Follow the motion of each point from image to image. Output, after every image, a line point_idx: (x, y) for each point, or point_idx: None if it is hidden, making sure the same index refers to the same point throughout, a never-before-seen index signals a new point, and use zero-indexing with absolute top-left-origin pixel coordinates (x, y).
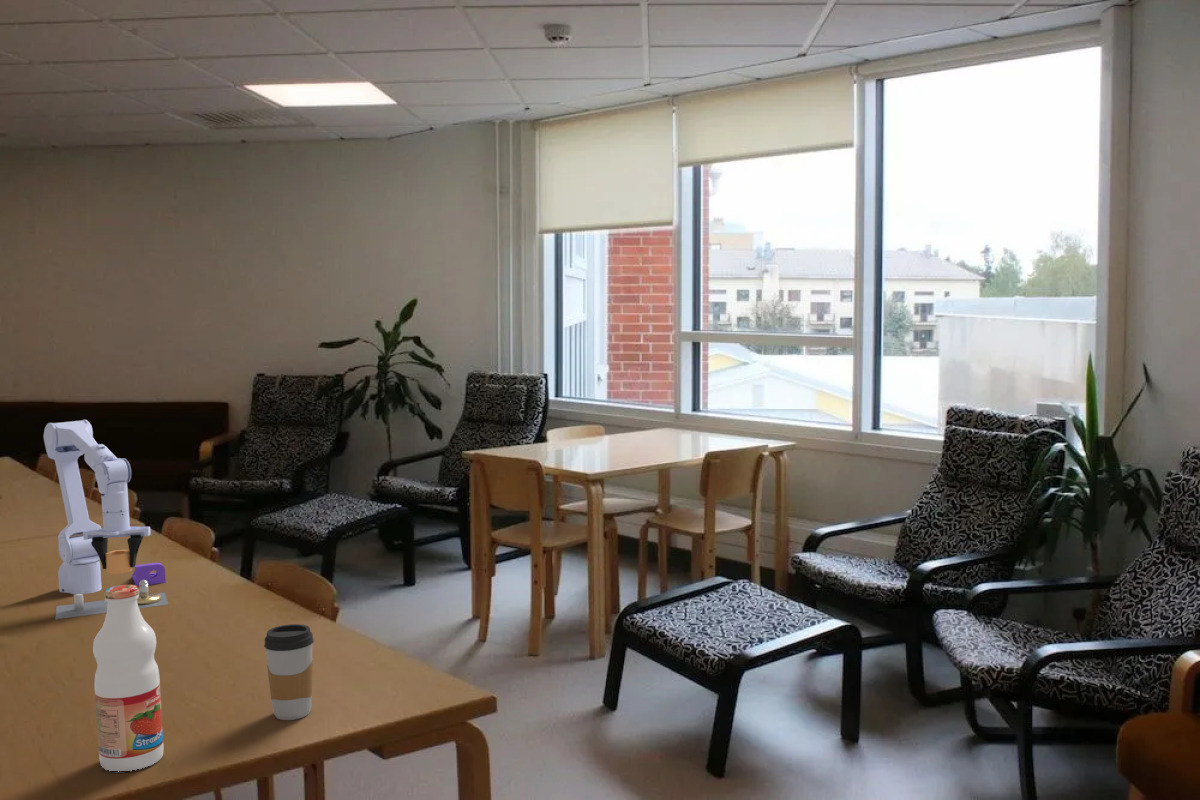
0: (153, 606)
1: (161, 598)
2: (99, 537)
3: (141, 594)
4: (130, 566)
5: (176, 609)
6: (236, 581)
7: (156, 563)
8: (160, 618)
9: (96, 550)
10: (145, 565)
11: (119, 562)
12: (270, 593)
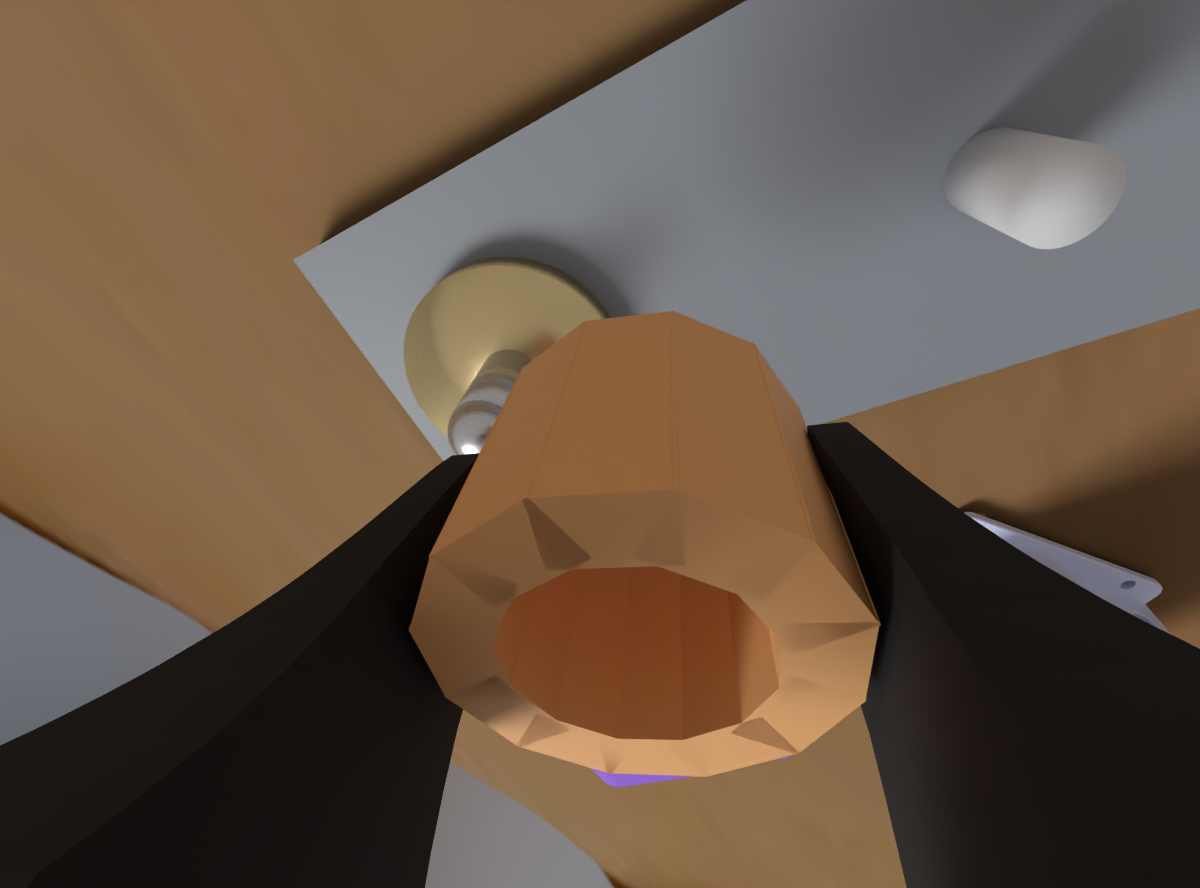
0: (373, 215)
1: None
2: None
3: (510, 363)
4: (472, 456)
5: (287, 272)
6: None
7: (614, 775)
8: (235, 16)
9: (1179, 653)
10: None
11: (548, 411)
12: (23, 505)
